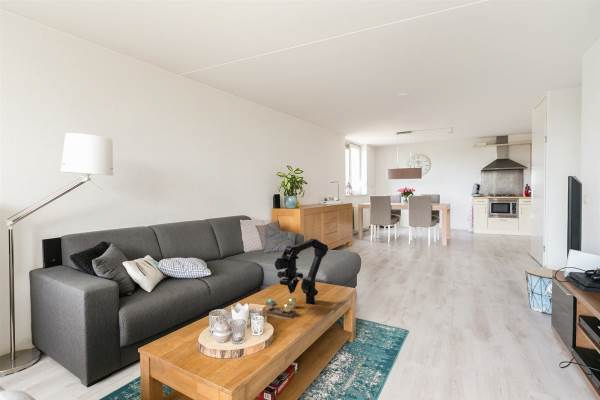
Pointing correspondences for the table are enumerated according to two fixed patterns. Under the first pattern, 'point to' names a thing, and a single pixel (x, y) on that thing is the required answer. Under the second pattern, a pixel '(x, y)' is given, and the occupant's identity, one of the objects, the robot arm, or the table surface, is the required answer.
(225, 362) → the table surface
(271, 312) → the brown compartment tray
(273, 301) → the button housing
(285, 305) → the cylinder
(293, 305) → the cylinder
